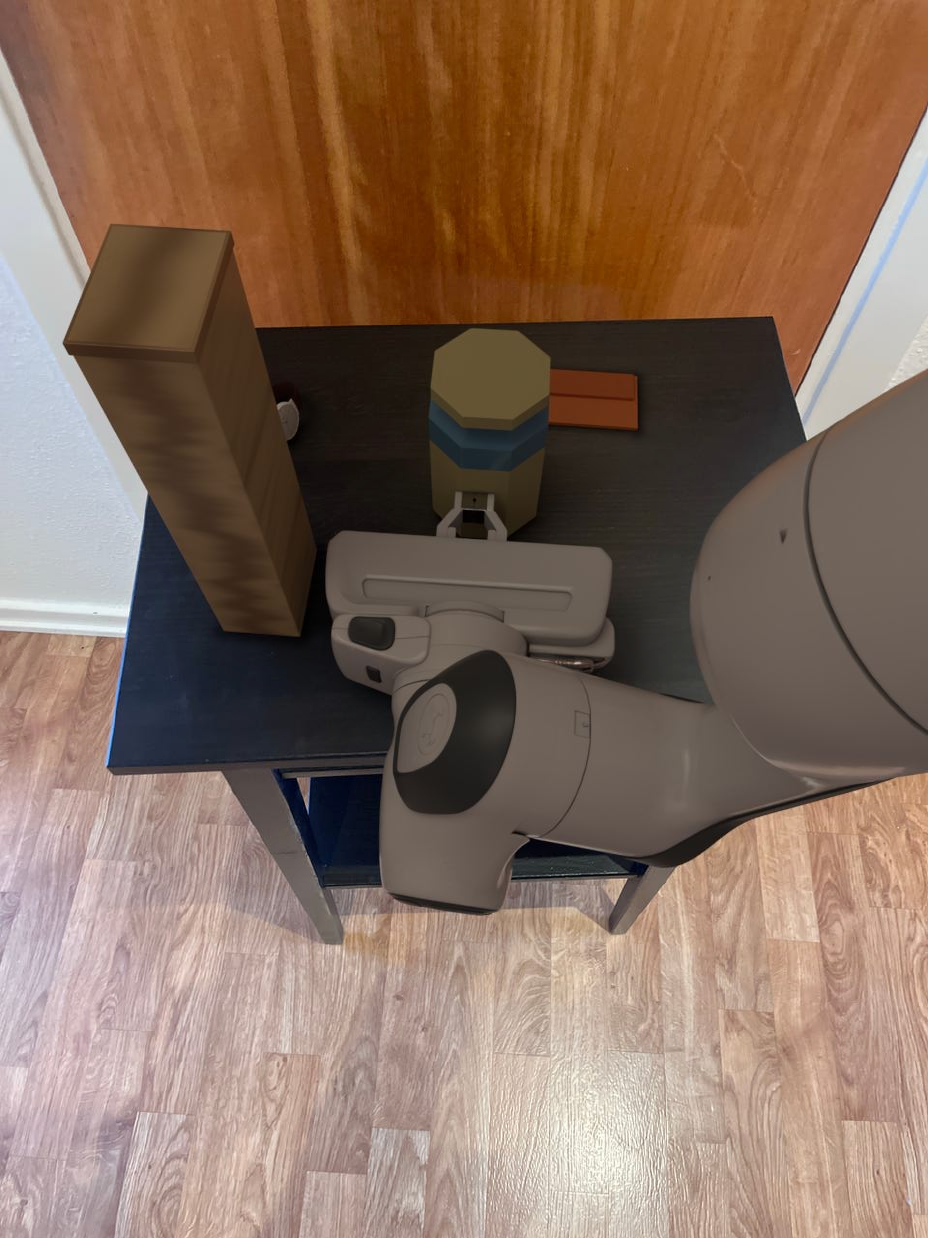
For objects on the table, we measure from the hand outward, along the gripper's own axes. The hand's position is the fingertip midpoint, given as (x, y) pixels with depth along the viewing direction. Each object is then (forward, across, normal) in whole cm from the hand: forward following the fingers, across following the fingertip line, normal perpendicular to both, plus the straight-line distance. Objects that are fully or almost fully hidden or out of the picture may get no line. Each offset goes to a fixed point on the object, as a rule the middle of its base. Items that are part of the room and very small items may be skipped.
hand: (475, 496), depth 64 cm
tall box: (-6, +16, +6) cm, 18 cm away
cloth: (+16, -7, +6) cm, 18 cm away
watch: (+10, +18, +7) cm, 22 cm away
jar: (+4, -1, +6) cm, 8 cm away
